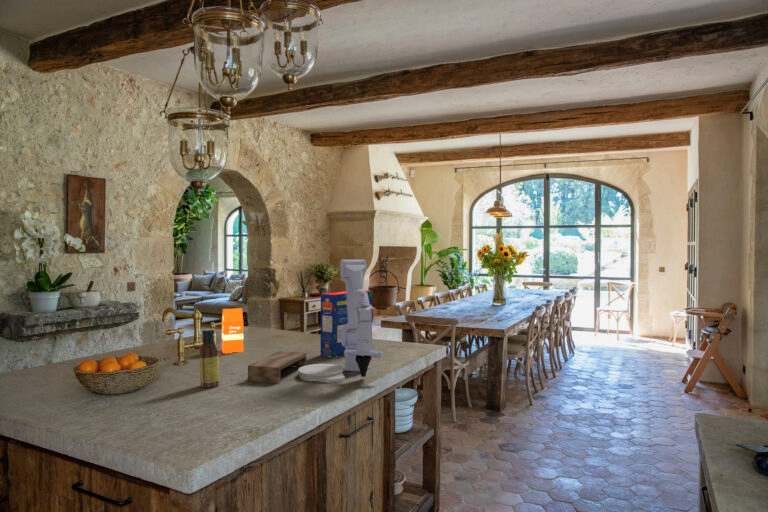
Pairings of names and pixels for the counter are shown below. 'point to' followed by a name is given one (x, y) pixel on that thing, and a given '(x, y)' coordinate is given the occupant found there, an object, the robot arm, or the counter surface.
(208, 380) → the sauce bottle
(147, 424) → the counter surface
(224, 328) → the orange juice
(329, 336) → the pasta box
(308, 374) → the lid
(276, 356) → the brown slab
